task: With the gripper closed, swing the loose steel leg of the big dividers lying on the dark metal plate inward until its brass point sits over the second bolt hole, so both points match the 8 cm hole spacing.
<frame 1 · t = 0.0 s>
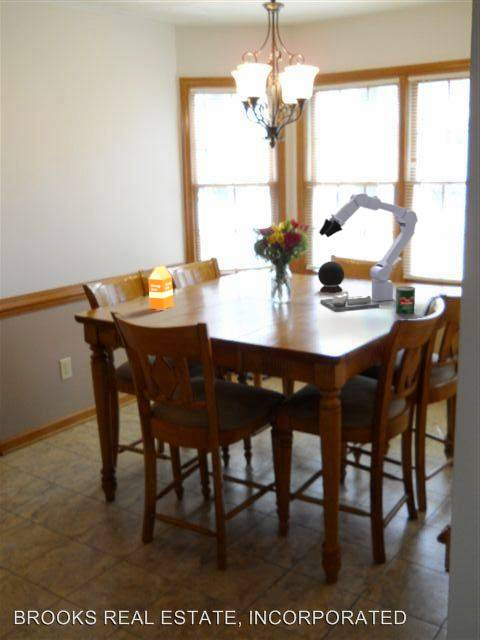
hand: (323, 234, 312), 32 cm above the table, tool tilted 50°, fingers open, 7 cm apart
canned tomato: (405, 313, 297), on the table
black ball on base: (331, 291, 351), on the table
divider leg: (344, 297, 319), point 3 cm above the table, hinge at 55.0°
orange juice: (162, 308, 326), on the table
bolt plate: (349, 305, 317), on the table
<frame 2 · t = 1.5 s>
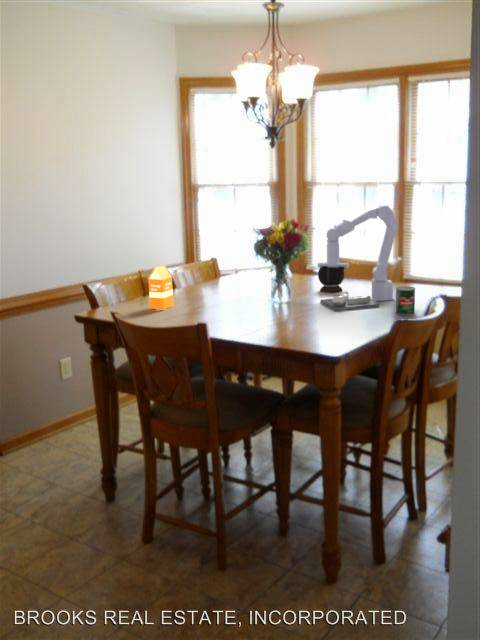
hand: (333, 282, 327), 8 cm above the table, tool pointing down, fingers open, 5 cm apart
nothing on the table moved.
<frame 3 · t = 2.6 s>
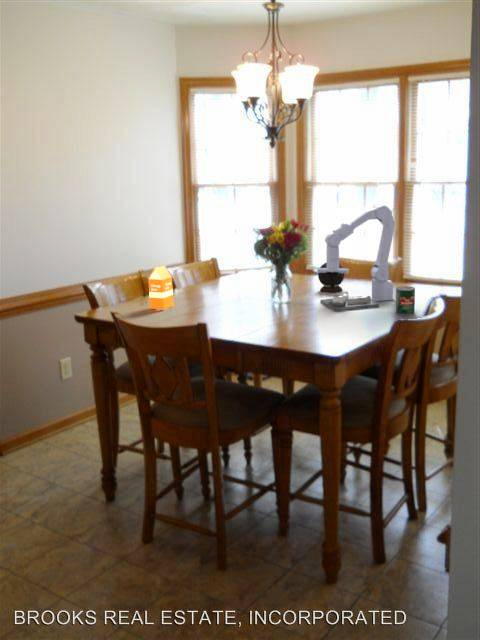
hand: (332, 288, 323), 7 cm above the table, tool pointing down, fingers closed
nothing on the table moved.
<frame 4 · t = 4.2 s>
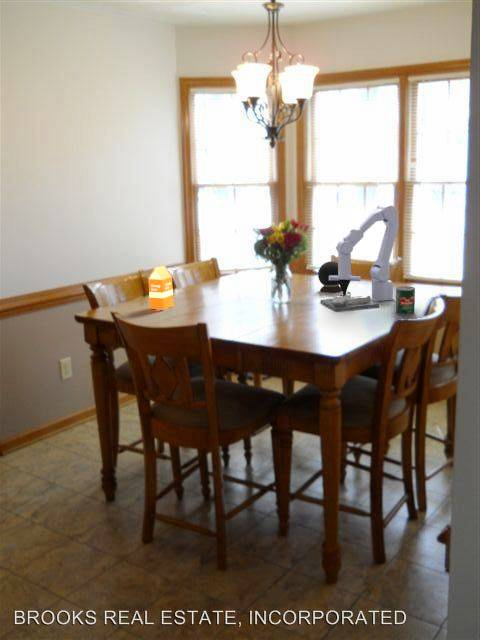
hand: (344, 295, 321), 3 cm above the table, tool pointing down, fingers closed
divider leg: (345, 297, 319), point 3 cm above the table, hinge at 50.7°, touching gripper
everything else where it was.
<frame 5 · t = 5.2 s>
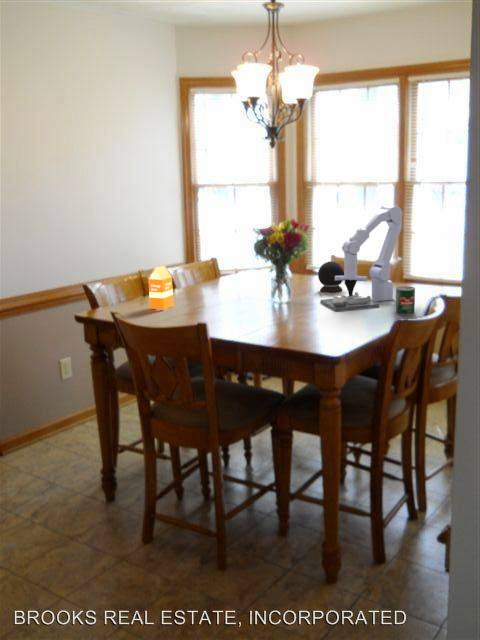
hand: (350, 296, 320), 3 cm above the table, tool pointing down, fingers closed
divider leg: (350, 297, 317), point 3 cm above the table, hinge at 35.0°, touching gripper
everything else where it was.
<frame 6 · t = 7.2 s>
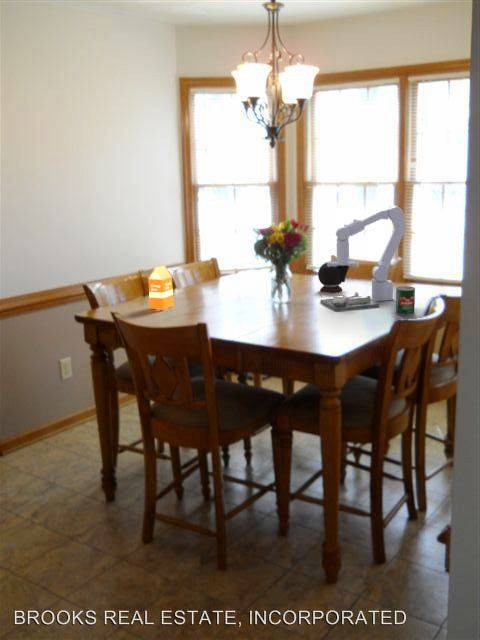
hand: (343, 281, 325), 9 cm above the table, tool pointing down, fingers closed
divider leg: (350, 297, 317), point 3 cm above the table, hinge at 35.0°
everything else where it was.
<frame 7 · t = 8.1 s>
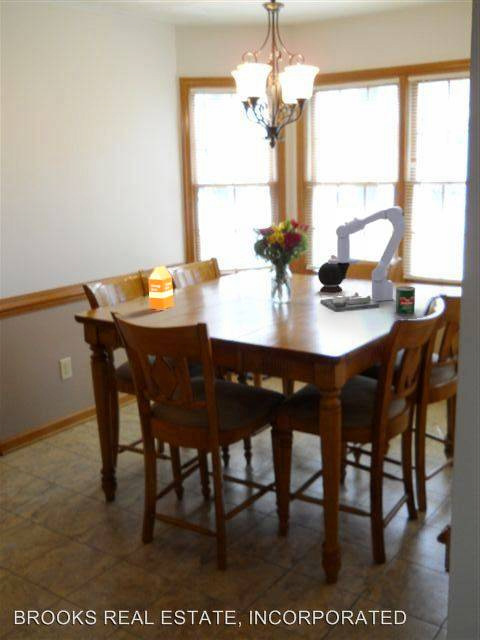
hand: (343, 278, 330), 9 cm above the table, tool pointing down, fingers closed
nothing on the table moved.
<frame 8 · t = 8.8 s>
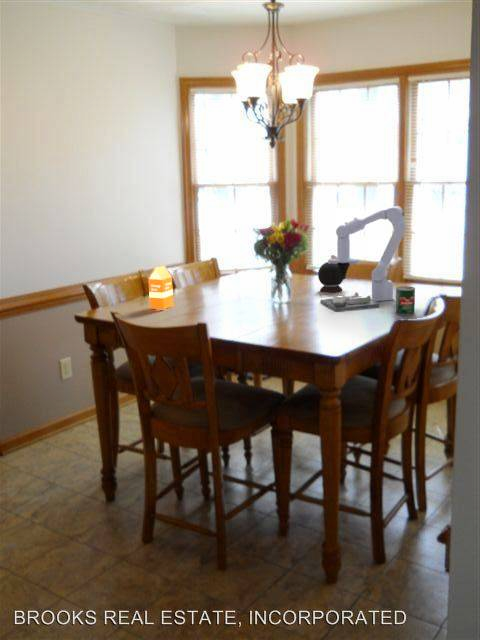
hand: (343, 278, 330), 9 cm above the table, tool pointing down, fingers closed
nothing on the table moved.
at the end: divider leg at +35° (first picture: +55°) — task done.
